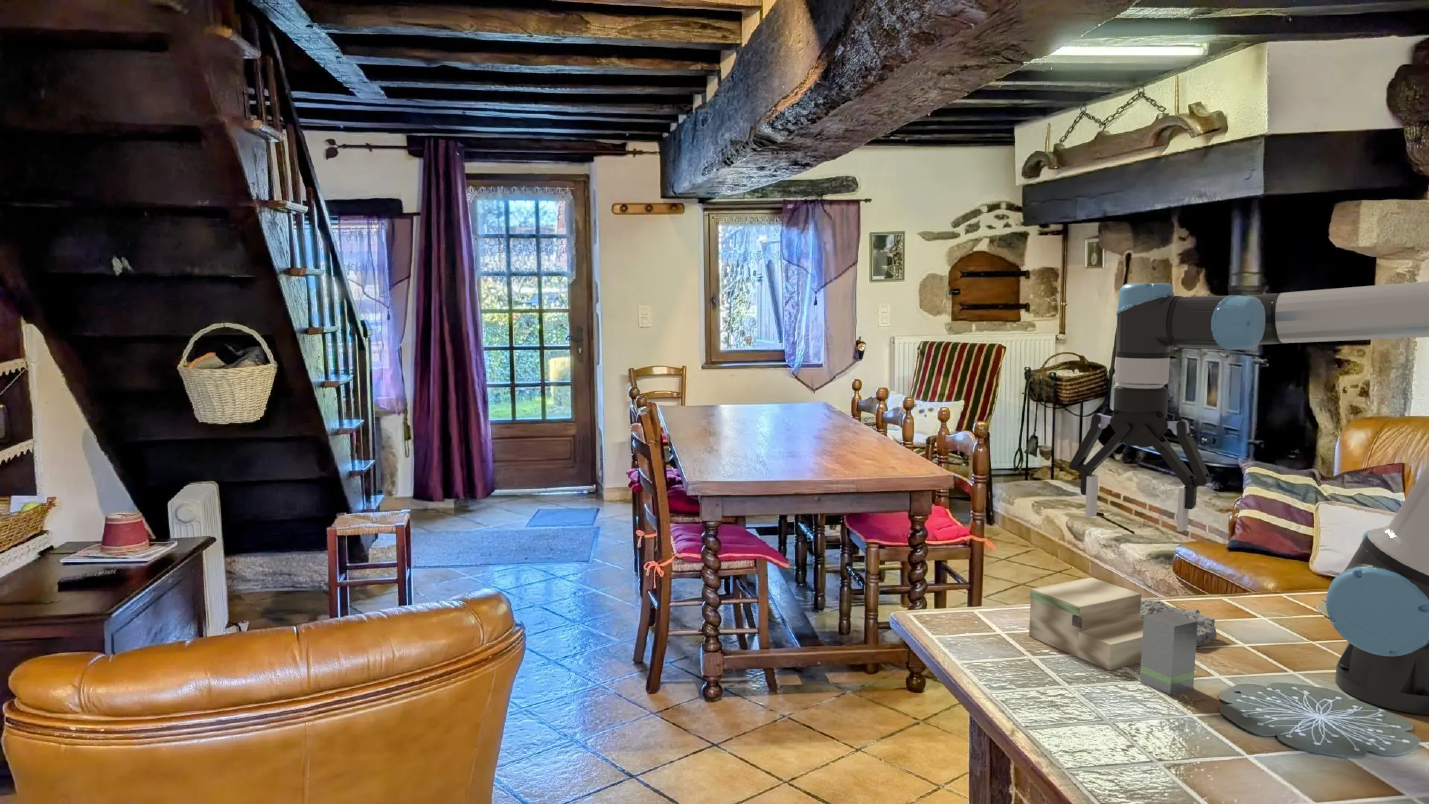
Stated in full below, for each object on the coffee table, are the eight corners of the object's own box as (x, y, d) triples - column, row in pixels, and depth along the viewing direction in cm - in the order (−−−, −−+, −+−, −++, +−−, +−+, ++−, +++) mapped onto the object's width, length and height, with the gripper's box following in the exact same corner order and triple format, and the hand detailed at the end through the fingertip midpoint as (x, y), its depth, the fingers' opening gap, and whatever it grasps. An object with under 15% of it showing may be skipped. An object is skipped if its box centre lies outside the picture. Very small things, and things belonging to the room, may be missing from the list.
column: (1193, 688, 138) (1197, 621, 137) (1170, 695, 136) (1174, 626, 134) (1162, 675, 142) (1166, 610, 141) (1139, 682, 140) (1143, 615, 139)
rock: (1224, 643, 157) (1227, 613, 156) (1188, 652, 152) (1191, 621, 152) (1154, 618, 168) (1157, 591, 167) (1118, 626, 163) (1121, 598, 163)
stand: (1171, 654, 151) (1174, 604, 150) (1107, 670, 144) (1110, 619, 143) (1088, 622, 165) (1091, 577, 164) (1027, 636, 158) (1029, 589, 157)
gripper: (1238, 388, 140) (1230, 531, 142) (1069, 379, 157) (1065, 506, 159) (1224, 392, 134) (1216, 540, 137) (1050, 382, 151) (1046, 514, 153)
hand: (1135, 522), depth 148 cm, fingers open, 13 cm apart
